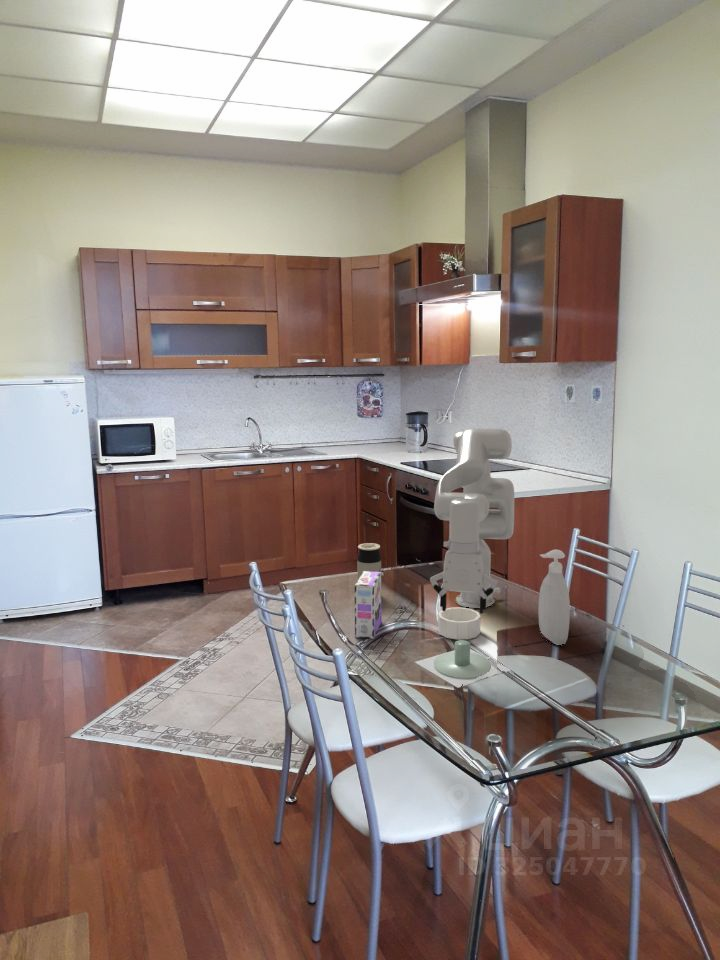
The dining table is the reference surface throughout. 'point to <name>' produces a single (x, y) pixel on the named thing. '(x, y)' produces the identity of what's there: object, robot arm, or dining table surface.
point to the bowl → (459, 623)
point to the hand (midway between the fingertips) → (462, 610)
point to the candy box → (368, 604)
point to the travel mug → (368, 558)
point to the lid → (462, 662)
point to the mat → (457, 682)
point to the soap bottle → (554, 601)
